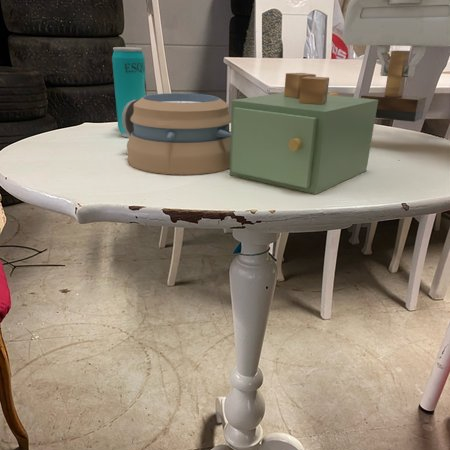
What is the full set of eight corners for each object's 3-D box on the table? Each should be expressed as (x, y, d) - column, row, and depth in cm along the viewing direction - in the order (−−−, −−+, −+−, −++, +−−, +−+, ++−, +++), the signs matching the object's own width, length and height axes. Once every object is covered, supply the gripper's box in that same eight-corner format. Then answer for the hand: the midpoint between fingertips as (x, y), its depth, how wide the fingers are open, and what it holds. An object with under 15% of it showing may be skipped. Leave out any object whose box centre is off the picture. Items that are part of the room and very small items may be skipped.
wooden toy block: (313, 97, 67) (316, 74, 65) (297, 98, 65) (299, 74, 64) (299, 95, 69) (302, 72, 67) (283, 96, 67) (285, 73, 66)
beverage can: (153, 137, 90) (149, 48, 82) (125, 139, 87) (118, 48, 80) (141, 131, 94) (136, 47, 86) (114, 134, 91) (106, 47, 84)
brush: (422, 118, 82) (435, 51, 77) (413, 122, 79) (427, 52, 74) (368, 113, 87) (377, 49, 82) (358, 116, 84) (367, 50, 79)
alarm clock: (137, 107, 60) (106, 88, 78) (142, 179, 64) (112, 145, 83) (258, 103, 65) (202, 86, 84) (254, 170, 70) (202, 140, 88)
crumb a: (326, 102, 62) (329, 77, 61) (321, 104, 60) (324, 79, 59) (304, 100, 63) (307, 76, 62) (298, 103, 61) (301, 77, 60)
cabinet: (366, 170, 71) (378, 99, 66) (309, 197, 59) (319, 113, 54) (287, 156, 78) (292, 91, 73) (222, 177, 66) (223, 101, 61)
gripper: (489, -25, 70) (465, 78, 77) (360, -17, 81) (349, 72, 88) (479, -28, 65) (455, 81, 72) (344, -19, 76) (334, 74, 83)
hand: (396, 76), depth 80 cm, fingers closed on brush, 2 cm apart
